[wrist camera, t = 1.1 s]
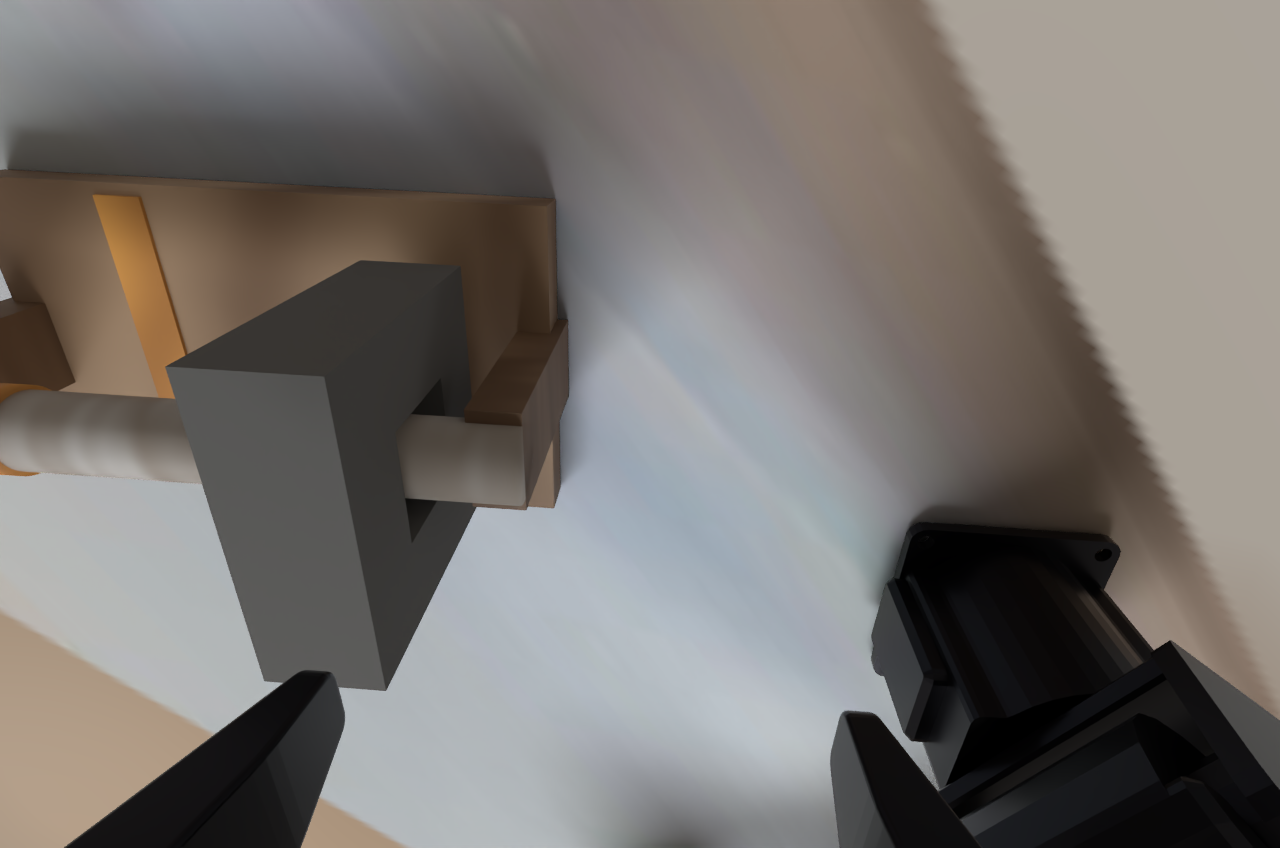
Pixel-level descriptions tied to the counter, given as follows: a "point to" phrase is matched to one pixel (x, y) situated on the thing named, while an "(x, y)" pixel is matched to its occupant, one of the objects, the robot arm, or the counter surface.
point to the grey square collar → (330, 464)
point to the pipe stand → (247, 287)
